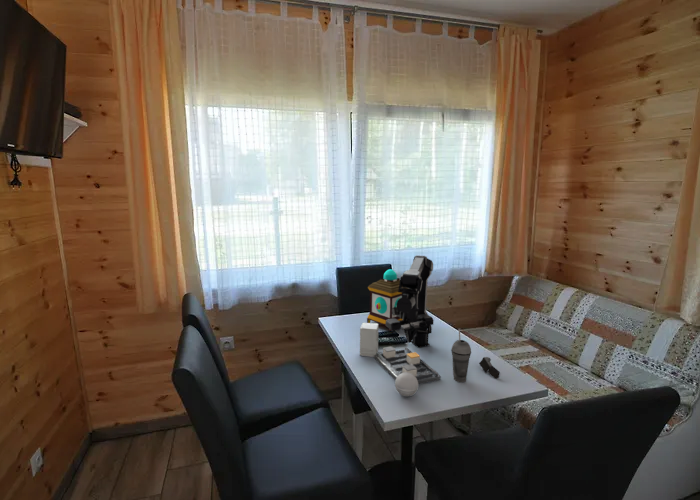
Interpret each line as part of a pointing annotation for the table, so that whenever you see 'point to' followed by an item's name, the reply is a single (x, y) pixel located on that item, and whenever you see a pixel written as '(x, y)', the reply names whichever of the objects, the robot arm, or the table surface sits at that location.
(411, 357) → the block
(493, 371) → the black bow tie
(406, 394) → the bath bomb
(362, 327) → the supplement box
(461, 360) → the beverage cup
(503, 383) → the table surface
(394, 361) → the panel
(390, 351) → the breaker far
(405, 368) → the breaker near
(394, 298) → the decorative lantern
